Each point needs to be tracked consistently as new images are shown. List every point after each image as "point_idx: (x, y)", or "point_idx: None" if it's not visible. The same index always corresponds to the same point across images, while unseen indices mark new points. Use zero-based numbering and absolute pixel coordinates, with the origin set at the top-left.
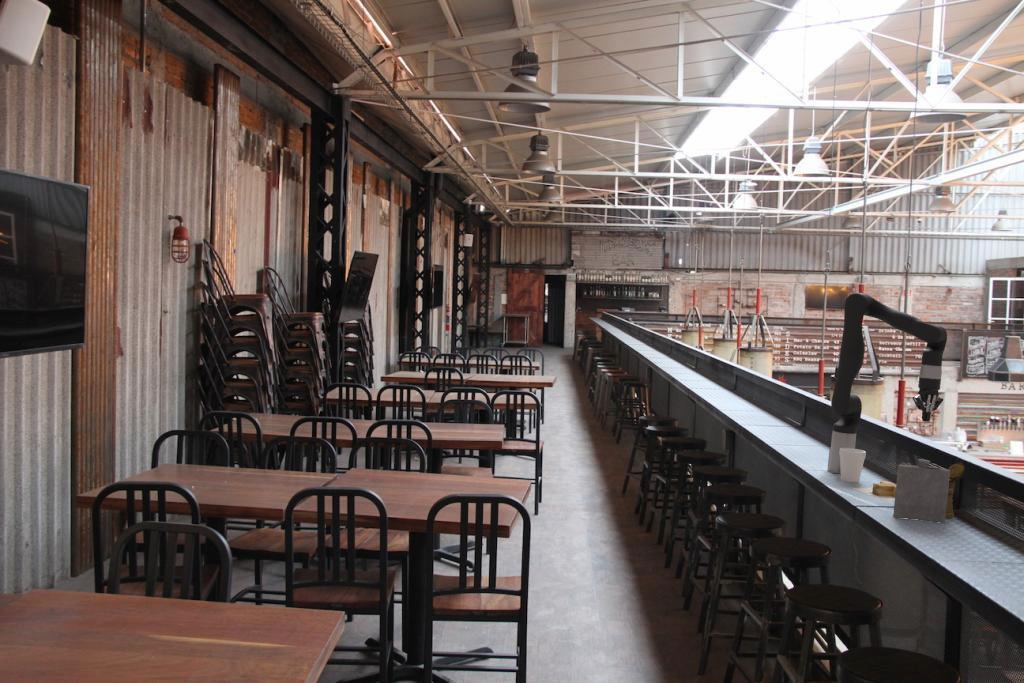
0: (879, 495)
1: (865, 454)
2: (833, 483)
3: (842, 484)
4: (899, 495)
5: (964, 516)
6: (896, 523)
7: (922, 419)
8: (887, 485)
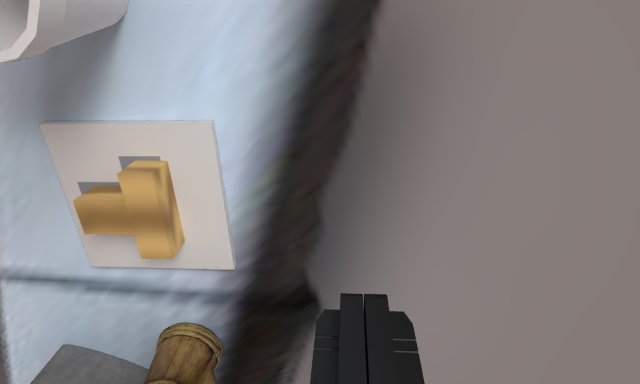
0: None
1: (44, 37)
2: None
3: None
4: None
5: (255, 358)
6: None
7: (324, 316)
8: (115, 227)
